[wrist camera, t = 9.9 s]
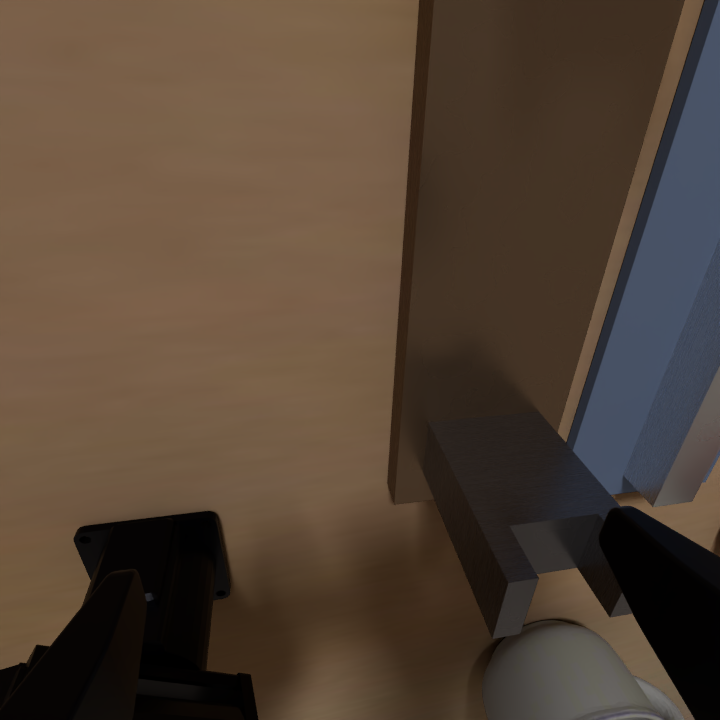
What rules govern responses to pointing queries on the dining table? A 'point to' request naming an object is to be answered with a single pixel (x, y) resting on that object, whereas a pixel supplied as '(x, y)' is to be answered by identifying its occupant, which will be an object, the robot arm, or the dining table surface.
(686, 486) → the rail
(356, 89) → the dining table surface
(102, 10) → the dining table surface
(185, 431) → the dining table surface
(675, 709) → the teacup
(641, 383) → the mat
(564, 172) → the stand
